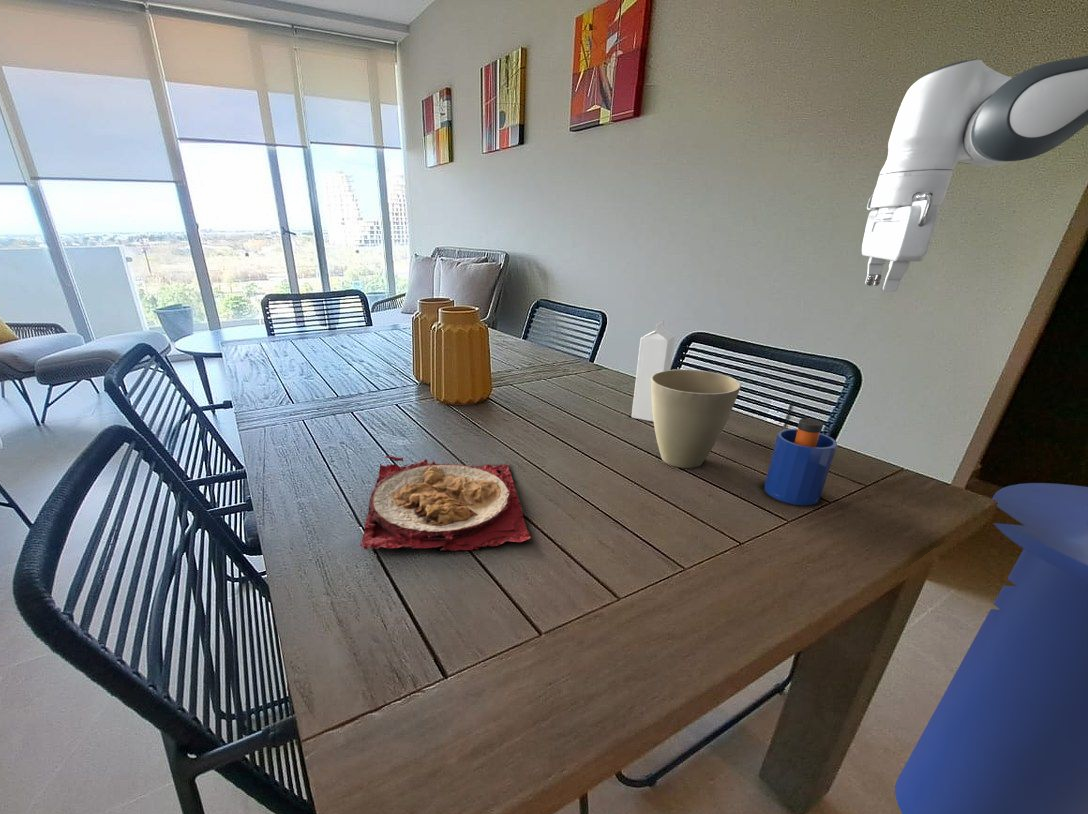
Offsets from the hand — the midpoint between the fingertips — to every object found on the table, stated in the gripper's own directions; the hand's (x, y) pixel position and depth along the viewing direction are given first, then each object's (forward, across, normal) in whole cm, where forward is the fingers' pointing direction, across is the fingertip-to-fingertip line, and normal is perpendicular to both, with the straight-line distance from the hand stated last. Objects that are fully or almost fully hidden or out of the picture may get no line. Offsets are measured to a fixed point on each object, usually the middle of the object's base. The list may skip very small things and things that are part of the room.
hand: (879, 288), depth 80 cm
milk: (+31, +10, +35) cm, 48 cm away
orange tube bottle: (+30, -19, +8) cm, 37 cm away
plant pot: (+31, -12, +26) cm, 43 cm away
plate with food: (+31, -44, +61) cm, 81 cm away
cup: (+31, -19, +8) cm, 37 cm away
